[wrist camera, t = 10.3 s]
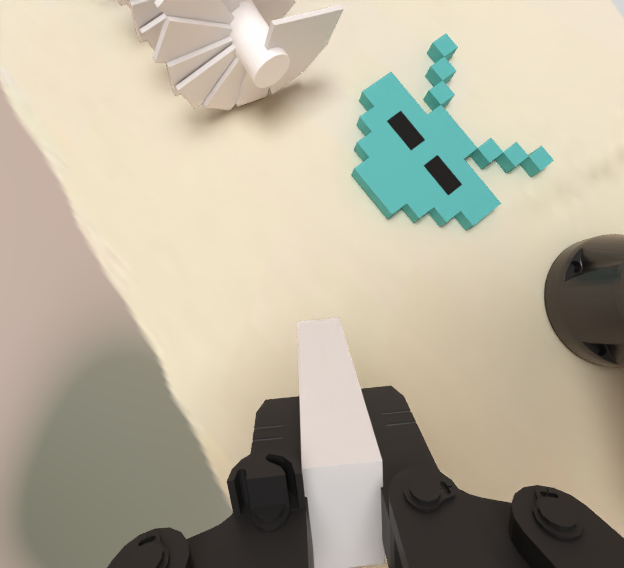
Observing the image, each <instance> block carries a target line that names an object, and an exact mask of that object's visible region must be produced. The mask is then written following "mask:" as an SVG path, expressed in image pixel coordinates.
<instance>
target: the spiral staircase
mask: <svg viewBox="0 0 624 568" xmlns="http://www.w3.org/2000/svg"><path fill="white" fill-rule="evenodd" d="M118 1H119V3H120V5H121V6H122V5H124V4H127V5H128V6H129V7H130V8H131V10H132V15H133V19H134V24H135V28H136V33H137V37H138V39H139V41H140V42H143V41H146V40H147V41H148V43H149V44H150V46H151V47H152V49H153V50H154V54H153V57H152V58H153V60H154V61H155V63H166V65H167V69H168V73H169V77H170V81H171V85H172V89H173V93H174V94H175V96H178V95H180V94H182V95H183V97H184V98H185V99H186V100H187V101H188V102H189V103H190V104H191V106H192V107H193V108H194V109H195V108H196V107H198V106H199V105H201V104H202V103H203V105H204V106H205V107H206V108H215V109H223V110H231V109H232V108H233V106H234V105H235V104H236V105H237V106H241V105H244V104H247V103H250V102H253V101H256V100H259V99H262V98H265V97H267V94H268V91H269V89H270V92H271V93H272V94H273V93H275V92H276V91H278V90H279V89H280V88H282V87H283V86H285V85H286V84H287V83H289V82H290V81H292V80H293V79H294V78H296V77H297V76H299V75H300V74H301V72H304V71H305V69H306V68H307V67H308V66H309V65H310V64H311V62H312V61H313V60H314V59H315V58H316V57H317V56H318V54H319V53H320V52H321V51H322V50H323V49H324V47H325V46H326V45H327V44H328V41H329V39H330V37H331V34H332V32H333V30H334V28H335V26H336V24H337V22H338V20H339V18H340V15H341V13H342V11H343V7H342V6H341V5H337V6H333V7H328V8H324V9H320V10H315V11H311V12H307V13H302V14H298V15H294V16H289V17H284V16H285V15H286V13H287V12H288V11H289V10H290V8H291V7H292V6H293V5H294V4H295V0H118ZM283 17H284V18H283Z"/></svg>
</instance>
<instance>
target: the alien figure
mask: <svg viewBox="0 0 624 568" xmlns="http://www.w3.org/2000/svg"><path fill="white" fill-rule="evenodd" d="M457 48H458V47H457V46H456V45H455V43H454V42H453V41H452V40H451V39H450V37H449V36H448V35H447V34H444V35H443V36H442V37H440V38H439V39H437V40H436V41H434V42H433V43H432V45H431V47H430V49H429V50H428V52H427V54H428V55H429V57H430V58H431V59H432V60H433V61H434V63H435V64H433V65H432V66H431V67H430V69H429V70H428V72H427V74H426V76H425V77H426V78H427V79H428V80H429V82H430V83H431V84H432V85H433V86H434V87H433V88H432V89H430V90H429V91H428V93H427V94H426V96H425V98H424V99H423V100H424V101H425V102H426V103H427V105H428V106H429V107H430V108H431V109H432V112H430V113H429V114H428V115H427V114H426V113H425V112H424V110H423V109H422V108H421V107H420V106H419V104H418V103H417V102H416V101H415V100H414V99H413V97H412V96H411V95H410V94H409V93H408V91H407V90H406V89H405V88H404V87H403V85H402V84H401V83H400V82H399V81H398V79H397V78H396V77H395V76H394V75H393V73H392V72H390V73H388V74H387V75H386V76H384V77H383V78H381V79H380V80H378V81H377V82H376V83H374V84H373V85H371V86H370V87H368V88H367V89H365V90H364V91H363V92H362V94H361V97H360V100H359V101H360V103H361V104H362V105H363V106H364V108H365V109H366V110H367V112H366V113H364V114H363V115H361V116H360V117H359V120H358V123H357V126H358V127H359V129H360V130H361V131H362V132H363V134H364V135H365V137H364V138H362V139H361V140H360V141H358V142H357V144H356V146H355V149H354V150H355V152H356V153H357V154H358V155H359V157H360V158H361V159H362V160H363V161H364V162H362V163H361V164H360V165H358V166H357V167H356V168H354V170H353V173H352V176H353V178H354V179H355V180H356V181H357V182H358V184H359V185H360V186H361V187H362V189H363V190H364V191H365V192H366V194H367V195H368V196H369V197H370V199H371V200H372V201H373V202H374V203H375V205H376V206H377V207H378V208H379V210H380V211H381V212H382V213H383V215H384V216H385V217H386V218H387V219H389V218H390V217H391V216H392V215H394V214H395V213H396V212H398V211H399V210H400V209H401V208H402V209H403V210H404V212H405V213H406V214H407V215H408V217H409V218H410V219H411V220H412V222H413V223H414V222H416V221H417V220H418V219H420V218H421V217H422V216H423V215H425V214H426V213H427V212H428V213H429V214H430V215H431V217H432V218H433V219H434V220H435V222H436V223H437V224H438V225H439V226H442V225H443V224H445V223H446V222H448V221H449V220H450V219H451V218H452V217H455V218H456V219H457V221H458V222H459V223H460V224H461V225H462V227H463V228H464V229H465V230H467V229H469V228H471V227H473V226H474V225H475V224H477V223H478V222H479V221H480V220H481V219H483V218H484V217H485V216H486V215H488V214H489V213H490V212H491V211H492V210H494V209H495V208H496V207H497V206H499V205H500V204H501V203H500V202H499V200H498V199H497V198H496V197H495V196H494V194H493V193H492V192H491V191H490V190H489V188H488V187H487V186H486V185H485V184H484V182H483V181H482V180H481V179H480V178H479V176H478V175H477V174H476V173H475V172H474V170H473V169H472V168H471V167H470V166H469V164H468V163H467V162H466V161H465V159H466V158H467V157H468V156H471V157H472V159H473V160H474V161H475V162H476V163H477V165H478V166H479V167H480V168H481V169H483V168H484V167H485V166H487V165H488V164H489V163H490V162H492V161H493V160H494V159H495V160H496V162H497V163H498V164H499V165H500V166H501V168H502V169H503V170H504V171H505V172H506V173H507V172H509V171H510V170H512V169H513V168H515V167H516V166H517V165H518V164H520V165H521V166H522V167H523V169H524V170H525V171H526V172H527V173H528V174H529V176H530V177H532V176H533V175H535V174H537V173H538V172H540V171H541V170H542V169H544V168H545V167H546V166H547V165H549V164H550V163H551V162H552V161H553V159H552V158H551V156H550V155H549V154H548V153H547V152H546V150H545V149H544V148H543V147H542V146H541V147H539V148H538V149H536V150H535V151H534V152H532V153H531V154H530V155H527V154H526V153H525V151H524V150H523V149H522V148H521V147H520V145H519V144H518V143H517V142H516V143H514V144H513V145H512V146H511V147H509V148H508V149H507V150H505V151H504V152H503V151H502V150H501V149H500V148H499V147H498V145H497V144H496V143H495V142H494V141H493V140H492V138H490V139H489V140H487V141H486V142H485V143H484V144H482V145H481V146H480V147H478V148H477V147H476V146H475V145H474V143H473V142H472V141H471V140H470V139H469V137H468V136H467V135H466V134H465V133H464V131H463V130H462V129H461V128H460V127H459V126H458V124H457V123H456V122H455V121H454V120H453V118H452V117H451V116H450V115H449V114H448V112H447V111H446V110H445V109H444V108H443V107H444V106H446V105H447V104H448V103H449V102H450V100H451V99H452V98H453V96H454V95H455V94H454V93H453V92H452V91H451V90H450V88H449V87H448V86H447V85H446V83H447V82H448V81H450V79H451V78H452V76H453V75H454V73H455V72H456V70H455V69H454V67H453V66H452V65H451V64H450V63H449V62H448V60H449V59H450V58H451V57H452V56H453V54H454V52H455V51H456V49H457Z"/></svg>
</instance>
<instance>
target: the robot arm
mask: <svg viewBox="0 0 624 568" xmlns="http://www.w3.org/2000/svg"><path fill="white" fill-rule="evenodd" d="M545 302H546V308H547V313H548V316H549V319H550V322H551V324H552V326H553V328H554V330H555V332H556V333H557V335H558V337H559V338H560V339H561V341H562V342H563V343H564V344H565V345H566V346H567V347H568V348H569V349H570V350H571V351H572V352H574V353H575V354H576V355H578V356H579V357H581V358H583V359H585V360H587V361H589V362H592V363H594V364H598V365H603V366H612V367H623V368H624V235H619V234H610V235H602V236H597V237H593V238H590V239H587V240H583V241H580V242H578V243H575V244H573V245H572V246H570V247H568V248H567V249H566V250H564V251H563V252H562V253H561V254H560V255H559V256H558V258H557V259H556V260H555V262H554V263H553V265H552V267H551V269H550V272H549V274H548V277H547V281H546V288H545ZM297 333H298V365H299V396H298V397H289V398H279V399H269V400H265V401H264V403H263V404H262V406H261V407H260V408H259V410H258V411H257V413H256V419H255V426H254V428H255V430H254V433H253V442H252V447H251V454H250V455H249V456H247V457H245V458H243V459H242V460H241V461H240V462H239V463H238V464H237V465H236V466H235V467H234V468H233V469H232V471H231V473H230V475H229V478H228V480H227V484H228V489H229V494H230V499H231V504H232V509H233V514H232V515H231V516H230V517H229V518H227V519H226V520H225V521H224V522H222V523H221V524H219V525H218V526H215V527H214V528H212V529H210V530H207V531H205V532H203V533H200V534H198V535H196V536H193V537H191V538H189V539H185V537H184V536H183V534H182V533H181V532H179V531H177V530H174V529H172V528H158V529H153V530H151V531H148V532H146V533H143V534H141V535H139V536H137V537H136V538H135V539H134V540H132V541H131V542H129V543H128V544H127V545H126V546H124V547H123V549H122V550H121V551H120V552H119V553H118V554H117V555H116V557H115V558H114V559H113V560H112V562H111V563H110V565H109V566H108V567H107V568H351V567H360V566H369V565H377V564H385V554H386V558H387V562H388V567H389V568H624V538H623V537H622V536H620V535H619V534H618V533H617V532H616V531H615V530H614V529H612V528H611V527H610V526H609V525H608V524H607V523H606V522H604V521H603V520H602V519H601V518H600V517H599V516H597V515H596V514H595V513H594V512H593V511H592V510H591V509H589V508H588V507H587V506H586V505H584V504H583V503H581V502H580V501H579V500H577V499H576V498H574V497H573V496H571V495H569V494H567V493H565V492H562V491H560V490H557V489H555V488H551V487H545V486H539V485H536V486H529V487H524V488H522V489H521V490H519V491H518V492H517V493H515V495H514V498H513V500H512V503H508V502H503V501H497V500H492V499H486V498H481V497H477V496H474V495H470V494H468V493H466V492H464V491H462V490H459V489H458V488H457V486H456V485H455V484H454V482H453V481H452V480H451V479H449V478H448V477H447V476H445V475H444V474H442V473H441V472H440V471H439V469H438V468H437V465H436V463H435V461H434V459H433V457H432V455H431V453H430V451H429V449H428V446H427V444H426V442H425V440H424V438H423V436H422V434H421V432H420V430H419V427H418V425H417V424H416V422H415V419H414V417H413V415H412V413H411V412H410V408H409V406H408V404H407V402H406V400H405V398H404V396H403V395H402V394H400V393H399V392H398V391H397V390H396V389H394V388H393V387H392V386H384V387H374V388H364V389H361V388H360V385H359V381H358V378H357V375H356V371H355V368H354V365H353V361H352V358H351V355H350V351H349V348H348V345H347V341H346V338H345V335H344V331H343V328H342V325H341V321H340V318H339V317H337V318H327V319H317V320H307V321H297Z"/></svg>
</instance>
